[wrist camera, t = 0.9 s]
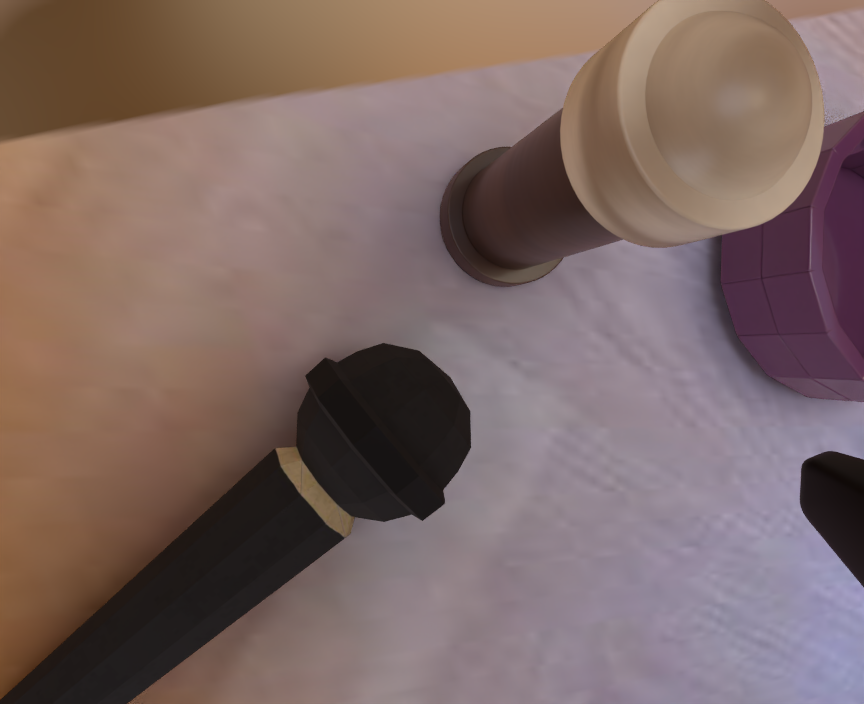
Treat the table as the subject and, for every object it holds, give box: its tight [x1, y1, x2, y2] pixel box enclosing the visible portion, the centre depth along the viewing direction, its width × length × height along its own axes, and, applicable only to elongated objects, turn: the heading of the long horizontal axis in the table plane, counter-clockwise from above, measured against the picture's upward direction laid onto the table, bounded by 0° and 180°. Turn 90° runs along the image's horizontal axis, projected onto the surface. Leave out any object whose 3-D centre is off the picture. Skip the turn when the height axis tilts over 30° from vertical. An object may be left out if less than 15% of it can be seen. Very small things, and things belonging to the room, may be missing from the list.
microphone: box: [0, 343, 471, 704], centre depth 19 cm, size 6×6×20 cm
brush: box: [440, 0, 824, 287], centre depth 18 cm, size 5×5×13 cm
